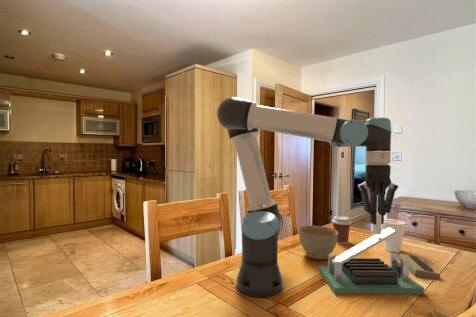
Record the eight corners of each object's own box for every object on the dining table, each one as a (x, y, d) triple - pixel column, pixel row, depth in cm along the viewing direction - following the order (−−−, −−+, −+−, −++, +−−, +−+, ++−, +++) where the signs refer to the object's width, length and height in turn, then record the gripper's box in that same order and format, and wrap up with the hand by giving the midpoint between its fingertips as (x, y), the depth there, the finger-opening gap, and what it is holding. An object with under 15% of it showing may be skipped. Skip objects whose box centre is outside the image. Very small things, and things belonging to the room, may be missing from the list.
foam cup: (404, 248, 123) (405, 220, 123) (404, 255, 116) (405, 225, 115) (381, 244, 128) (381, 217, 128) (379, 250, 121) (380, 222, 120)
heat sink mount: (338, 287, 86) (338, 264, 86) (326, 270, 98) (326, 250, 98) (413, 287, 86) (413, 264, 86) (391, 271, 98) (392, 250, 98)
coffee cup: (335, 244, 128) (335, 219, 128) (328, 238, 137) (329, 215, 137) (354, 244, 128) (354, 219, 128) (346, 238, 138) (346, 215, 137)
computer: (440, 280, 94) (440, 270, 94) (414, 277, 96) (415, 268, 96) (420, 262, 110) (420, 254, 110) (398, 260, 111) (398, 252, 111)
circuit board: (334, 293, 84) (334, 287, 84) (318, 271, 100) (318, 265, 100) (423, 294, 84) (424, 287, 84) (394, 271, 100) (394, 266, 100)
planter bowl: (341, 264, 106) (341, 237, 105) (299, 261, 108) (299, 235, 108) (333, 250, 121) (334, 226, 121) (297, 247, 124) (297, 224, 124)
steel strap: (336, 268, 90) (333, 264, 90) (332, 263, 94) (329, 259, 94) (397, 234, 90) (394, 230, 89) (390, 230, 94) (388, 226, 93)
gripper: (363, 164, 87) (362, 236, 88) (403, 164, 87) (402, 236, 88) (353, 163, 95) (353, 230, 95) (390, 163, 95) (389, 230, 95)
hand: (376, 233), depth 91 cm, fingers closed
